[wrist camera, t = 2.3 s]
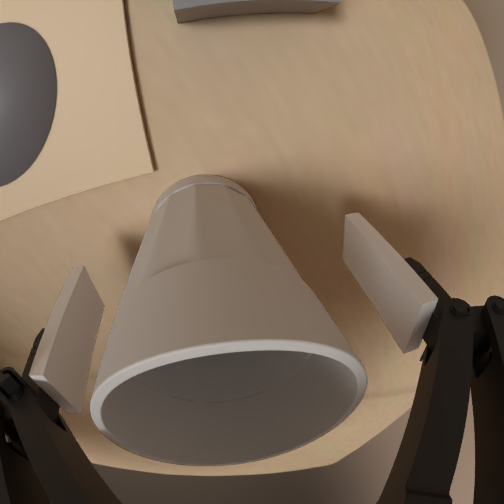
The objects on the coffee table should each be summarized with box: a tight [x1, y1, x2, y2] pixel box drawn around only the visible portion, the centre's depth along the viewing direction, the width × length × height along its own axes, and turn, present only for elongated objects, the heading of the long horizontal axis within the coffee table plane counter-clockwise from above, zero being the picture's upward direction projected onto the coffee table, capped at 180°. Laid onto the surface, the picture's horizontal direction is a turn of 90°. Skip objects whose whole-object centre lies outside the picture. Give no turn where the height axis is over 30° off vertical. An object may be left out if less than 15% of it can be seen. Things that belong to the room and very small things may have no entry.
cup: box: [90, 175, 367, 466], centre depth 12 cm, size 8×8×12 cm
